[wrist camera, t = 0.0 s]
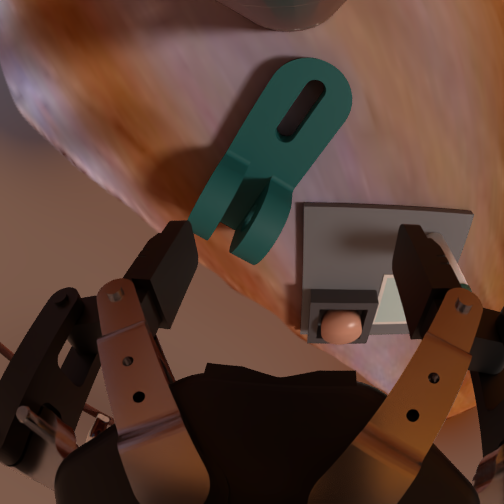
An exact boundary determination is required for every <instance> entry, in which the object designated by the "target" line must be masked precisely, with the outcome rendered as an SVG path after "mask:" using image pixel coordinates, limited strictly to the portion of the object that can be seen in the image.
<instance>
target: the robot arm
mask: <svg viewBox="0 0 504 504" xmlns="http://www.w3.org/2000/svg"><path fill="white" fill-rule="evenodd" d="M216 1H218V2H220V3H221V4H223V5H225V6H227V7H229V8H230V9H232V10H234V11H236V12H237V13H239V14H241V15H242V16H244V17H246V18H247V19H249V20H251V21H252V22H254V23H256V24H258V25H260V26H262V27H265V28H267V29H272V30H276V31H287V32H293V31H303V30H306V29H310V28H313V27H315V26H317V25H319V24H321V23H323V22H325V21H326V20H327V19H328V18H330V17H331V16H332V15H333V14H334V13H335V12H336V11H337V10H338V9H339V8H340V7H341V6H342V5H343V4H344V3H345V2H346V0H216ZM197 265H198V252H197V248H196V243H195V239H194V234H193V230H192V225H191V223H190V221H188V220H186V221H170V222H169V223H168V224H167V226H166V227H165V228H164V230H163V231H162V233H158V234H157V235H155V236H154V237H153V238H151V239H150V240H149V241H148V242H147V244H146V245H145V247H144V248H143V250H142V251H141V252H140V254H139V255H138V257H137V258H136V259H135V261H134V262H133V264H132V265H131V267H130V268H129V269H128V271H127V273H126V274H125V275H124V277H123V278H120V279H115V280H112V281H110V282H108V283H106V284H105V285H104V286H103V287H102V288H101V289H100V290H99V292H98V294H97V296H91V297H85V298H81V297H80V295H79V293H78V291H77V290H76V289H74V288H71V287H68V288H64V289H61V290H59V291H57V292H56V293H55V294H53V295H52V296H51V297H50V299H49V300H48V302H47V303H46V305H45V306H44V307H43V309H42V311H41V312H40V313H39V315H38V317H37V318H36V320H35V321H34V323H33V324H32V326H31V328H30V329H29V331H28V332H27V334H26V336H25V337H24V339H23V341H22V342H21V344H20V345H19V347H18V349H17V351H16V352H15V354H14V356H13V358H12V359H11V361H10V363H9V365H8V367H7V369H6V371H5V372H4V374H3V376H2V378H1V380H0V462H1V463H2V464H3V465H4V466H6V467H8V468H10V469H12V470H13V471H15V472H17V473H19V474H21V475H23V476H25V477H27V478H31V479H33V480H35V481H37V482H39V483H41V484H43V485H44V486H46V487H48V488H50V489H51V490H53V491H55V498H56V504H504V307H503V308H502V310H501V312H498V311H494V310H490V309H486V308H483V306H482V303H481V301H480V299H479V298H478V297H477V296H476V295H475V294H474V293H473V292H471V291H469V290H467V289H464V288H462V287H461V284H460V282H459V280H458V278H457V276H456V274H455V272H454V270H453V269H452V267H451V265H449V261H448V259H447V257H445V253H444V252H443V250H442V248H441V246H440V245H439V244H437V243H436V242H435V241H434V240H433V239H432V238H427V236H426V235H425V233H424V231H423V229H422V227H421V226H420V225H415V224H401V225H400V227H399V230H398V235H397V240H396V245H395V249H394V254H393V259H392V272H393V276H394V279H395V282H396V286H397V289H398V293H399V296H400V300H401V303H402V307H403V311H404V314H405V318H406V322H407V326H408V330H409V334H410V338H411V339H422V341H421V343H420V345H419V347H418V348H417V350H416V352H415V354H414V355H413V357H412V359H411V360H410V362H409V364H408V365H407V367H406V369H405V370H404V372H403V373H402V375H401V376H400V378H399V380H398V381H397V383H396V384H395V386H394V387H393V389H392V390H391V392H390V393H389V395H388V396H387V395H386V394H385V393H383V392H382V391H380V390H378V389H377V388H375V387H372V386H370V385H367V384H365V383H362V382H357V381H356V371H315V372H310V373H305V374H299V375H294V376H288V377H275V376H271V375H268V374H264V373H261V372H258V371H254V370H251V369H248V368H245V367H242V366H230V365H221V364H212V363H207V365H206V369H205V372H204V373H201V374H195V375H191V376H188V377H185V378H182V379H180V380H178V381H176V380H175V378H174V376H173V374H172V372H171V369H170V367H169V364H168V362H167V360H166V357H165V355H164V353H163V350H162V347H161V345H160V342H159V340H158V337H157V335H156V333H157V330H158V328H164V329H170V328H171V325H172V323H173V321H174V319H175V316H176V314H177V311H178V309H179V307H180V305H181V302H182V300H183V298H184V296H185V293H186V291H187V289H188V286H189V284H190V282H191V280H192V278H193V275H194V273H195V271H196V268H197ZM66 340H68V341H69V342H70V344H71V345H72V347H71V349H70V351H69V353H68V355H67V357H66V359H65V361H64V363H63V365H62V367H61V369H60V368H59V366H58V354H59V353H60V351H61V349H62V347H63V345H64V343H65V341H66ZM100 367H102V372H103V377H104V381H105V386H106V390H107V394H108V398H109V402H110V406H111V410H112V414H113V417H114V421H115V424H113V425H112V426H110V427H109V428H107V429H106V430H104V431H103V432H101V433H100V434H98V435H97V436H95V437H94V438H92V439H91V440H89V441H88V442H86V443H85V444H83V445H82V446H80V447H79V446H78V445H77V444H76V436H75V432H74V431H75V429H76V426H77V423H78V421H79V418H80V415H81V413H82V410H83V408H84V405H85V402H86V400H87V397H88V395H89V392H90V390H91V388H92V385H93V383H94V380H95V378H96V376H97V373H98V371H99V369H100ZM467 370H470V374H471V378H472V383H473V388H474V393H475V399H476V404H477V410H478V417H479V424H480V431H481V440H482V450H483V459H482V460H481V461H480V463H479V465H478V467H477V470H476V474H475V475H474V477H473V480H472V481H473V482H472V483H473V485H472V484H471V483H470V482H469V481H468V479H467V478H465V476H464V475H463V474H462V473H461V472H460V471H459V470H458V469H457V468H456V467H455V466H454V465H453V464H452V463H451V461H450V460H449V459H448V458H447V457H446V456H445V455H444V454H443V453H442V452H441V451H440V450H439V449H438V448H437V447H436V446H435V445H434V443H433V442H434V440H435V438H436V437H437V435H438V433H439V431H440V429H441V427H442V425H443V423H444V421H445V419H446V417H447V415H448V413H449V411H450V409H451V407H452V405H453V403H454V401H455V398H456V396H457V394H458V392H459V389H460V387H461V385H462V382H463V380H464V377H465V375H466V372H467Z"/></svg>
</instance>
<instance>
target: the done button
mask: <svg viewBox="0 0 504 504" xmlns="http://www.w3.org/2000/svg"><path fill="white" fill-rule="evenodd" d="M361 333H362V326H361V318H360V314H359V313H358V312H357V311H356V310H335V309H330V310H328V311H327V312H326V313H324V315H323V316H322V318H321V336H322V338H323V339H324V340H325V341H327V342H329V343H331V344H347V343H350V342H353V341H355V340H356V339H357V338H359V336H360V335H361Z"/></svg>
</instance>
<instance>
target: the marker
mask: <svg viewBox="0 0 504 504" xmlns="http://www.w3.org/2000/svg"><path fill="white" fill-rule="evenodd" d="M426 236H427V238H432V239H433V240H434V241H435V242H436V243H437V244H439V245H440V246H441V248H442V250H443V252H444V253H445V257H447V259H448V261H449V265H451V267H452V269H453V270H454V272H455V274H456V276H457V278H458V280H459V282H460V284H461V287H462V288H464V289H467V290H469V291H471V288H470V287H469V285H468V284H467V282H466V280H465V278H464V276H463V274H462V272H461V270H460V268H459V266H458V264H457V262H456V260H455V258H454V256H453V254H452V252H451V250H450V249H449V247H448V245H447V243H446V241H445V239H444V238H443V236H442V235H441V234H440V233H437V232H433V233H429V234H428V235H426ZM471 292H472V291H471Z"/></svg>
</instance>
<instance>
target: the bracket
mask: <svg viewBox="0 0 504 504" xmlns="http://www.w3.org/2000/svg"><path fill="white" fill-rule="evenodd" d="M311 80H319V81H321V82H322V83H323V84H324V91H323V93H322V94H321V95H320V97H319V98H318V100H317V101H316V102H315V104H314V105H313V107H312V108H311V109H310V111H309V112H308V114H307V115H306V117H305V118H304V119H303V121H302V122H301V124H300V125H299V127H298V128H297V129H296V131H295V132H294V133H293V134H292V135H290V136H283V135H281V134H280V133H279V132H278V130H277V127H278V125H279V123H280V122H281V120H282V119H283V118H284V116H285V115H286V113H287V112H288V110H289V109H290V107H291V106H292V104H293V103H294V101H295V100H296V98H297V97H298V95H299V94H300V92H301V91H302V90H303V88H304V87H305V85H306V84H307V83H308V82H309V81H311ZM351 106H352V93H351V89H350V86H349V83H348V81H347V80H346V78H345V77H344V75H343V74H342V73H341V72H340V71H339V70H338V69H337V68H336V67H334V66H333V65H331V64H329V63H328V62H325V61H323V60H320V59H316V58H298V59H295V60H292V61H290V62H288V63H286V64H284V65H283V66H282V67H281V68H279V69H278V70H277V71H276V72H275V74H274V75H273V77H272V78H271V80H270V81H269V83H268V84H267V86H266V88H265V89H264V91H263V92H262V94H261V95H260V97H259V99H258V100H257V102H256V103H255V105H254V107H253V108H252V110H251V112H250V113H249V115H248V117H247V118H246V120H245V122H244V123H243V125H242V127H241V128H240V130H239V132H238V133H237V135H236V137H235V138H234V140H233V142H232V144H231V145H230V147H229V149H228V150H227V152H226V154H225V155H224V157H223V158H222V160H221V161H220V163H219V164H218V166H217V168H216V169H215V171H214V173H213V174H212V176H211V178H210V179H209V181H208V183H207V184H206V186H205V188H204V190H203V192H202V193H201V195H200V197H199V199H198V201H197V203H196V204H195V206H194V208H193V210H192V212H191V214H190V216H189V218H188V221H190V223H191V225H192V230H193V233H194V234H196V235H198V236H200V237H202V238H203V239H205V240H208V239H209V238H210V237H211V235H212V233H213V232H214V230H215V229H216V227H217V225H218V224H219V222H221V223H223V224H225V225H227V226H229V227H230V228H232V229H234V230H235V233H234V236H233V239H232V242H231V245H230V250H229V252H230V253H232V254H234V255H235V256H237V257H239V258H241V259H243V260H245V261H247V262H249V263H251V264H252V265H255V264H257V263H259V262H260V261H261V260H262V259H263V258H264V257H265V255H266V254H267V253H268V252H269V250H270V249H271V248H272V246H273V245H274V243H275V241H276V240H277V238H278V236H279V235H280V233H281V231H282V229H283V227H284V225H285V223H286V220H287V218H288V215H289V212H290V209H291V204H292V192H293V190H294V188H295V187H296V186H297V184H298V183H299V182H300V180H301V179H302V178H303V176H304V175H305V174H306V172H307V171H308V170H309V168H310V167H311V166H312V164H313V163H314V162H315V160H316V159H317V158H318V156H319V155H320V154H321V152H322V151H323V150H324V148H325V147H326V146H327V144H328V143H329V142H330V141H331V139H332V138H333V137H334V135H335V134H336V133H337V131H338V130H339V129H340V127H341V126H342V125H343V123H344V122H345V121H346V119H347V117H348V115H349V113H350V110H351Z"/></svg>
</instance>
